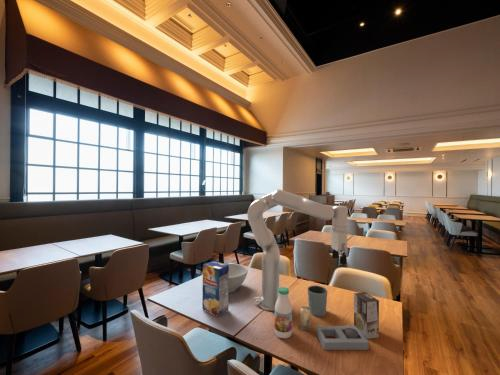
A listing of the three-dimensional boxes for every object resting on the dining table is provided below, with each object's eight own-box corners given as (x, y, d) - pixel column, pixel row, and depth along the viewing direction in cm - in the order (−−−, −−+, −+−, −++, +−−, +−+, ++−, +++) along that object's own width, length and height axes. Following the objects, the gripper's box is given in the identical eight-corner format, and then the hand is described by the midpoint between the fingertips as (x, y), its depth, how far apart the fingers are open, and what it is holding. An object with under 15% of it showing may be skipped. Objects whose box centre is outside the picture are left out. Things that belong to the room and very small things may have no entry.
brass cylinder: (301, 331, 105) (301, 311, 105) (299, 325, 109) (299, 306, 110) (311, 331, 105) (311, 311, 105) (308, 325, 110) (308, 306, 110)
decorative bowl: (255, 286, 153) (255, 268, 153) (230, 303, 130) (231, 281, 130) (223, 277, 167) (223, 260, 167) (196, 291, 144) (197, 272, 145)
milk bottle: (273, 328, 107) (273, 285, 107) (289, 328, 107) (289, 285, 107) (276, 339, 99) (276, 293, 99) (293, 338, 100) (294, 292, 100)
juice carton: (202, 309, 123) (202, 264, 123) (212, 303, 129) (212, 261, 129) (218, 316, 116) (219, 269, 116) (228, 310, 122) (228, 265, 122)
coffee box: (379, 337, 101) (379, 300, 101) (366, 339, 100) (367, 302, 100) (365, 325, 110) (365, 291, 110) (353, 327, 109) (353, 292, 109)
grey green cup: (327, 309, 125) (327, 286, 125) (327, 319, 115) (327, 294, 115) (308, 305, 128) (308, 284, 128) (306, 315, 118) (306, 291, 118)
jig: (324, 349, 93) (324, 339, 93) (316, 332, 104) (316, 323, 104) (368, 349, 93) (368, 339, 93) (355, 332, 104) (355, 323, 104)
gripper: (326, 226, 131) (326, 256, 131) (339, 231, 114) (339, 266, 114) (339, 226, 131) (338, 256, 131) (354, 232, 114) (354, 266, 114)
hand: (339, 260), depth 122 cm, fingers open, 9 cm apart
